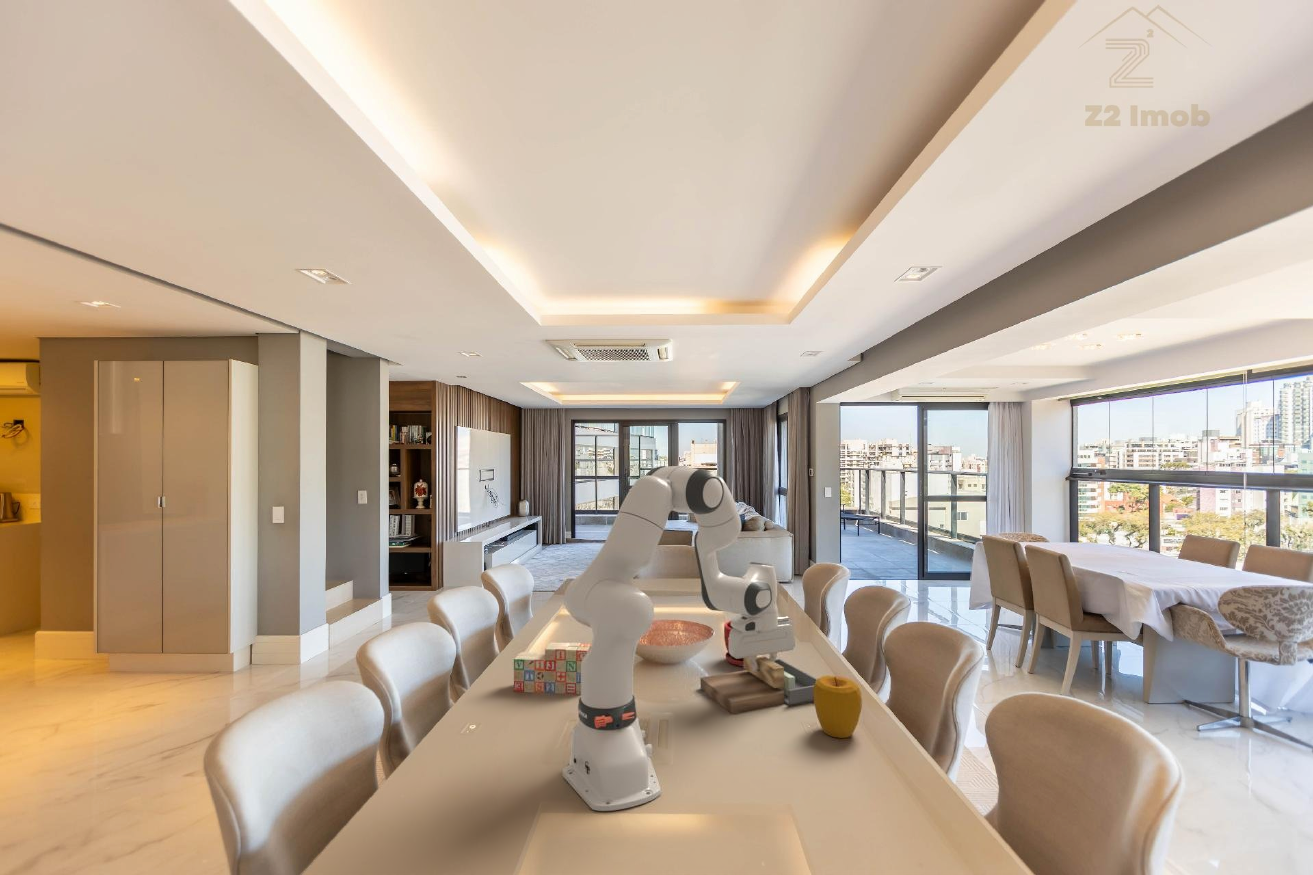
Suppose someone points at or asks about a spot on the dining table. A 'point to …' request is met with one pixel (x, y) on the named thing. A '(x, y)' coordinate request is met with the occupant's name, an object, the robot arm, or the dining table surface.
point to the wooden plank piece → (767, 671)
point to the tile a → (788, 683)
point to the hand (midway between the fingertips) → (763, 669)
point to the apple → (837, 705)
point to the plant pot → (726, 637)
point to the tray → (798, 685)
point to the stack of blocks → (551, 669)
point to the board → (741, 691)
